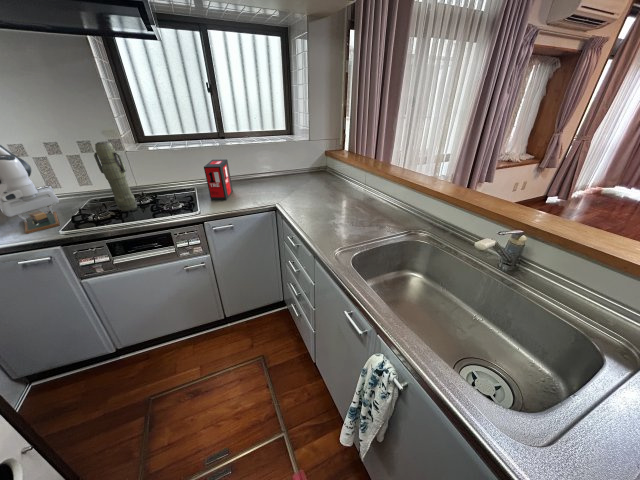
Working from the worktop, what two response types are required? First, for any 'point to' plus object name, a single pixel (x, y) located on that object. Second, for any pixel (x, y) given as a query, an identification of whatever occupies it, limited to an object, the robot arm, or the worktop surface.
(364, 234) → the worktop surface
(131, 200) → the thermos
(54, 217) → the board
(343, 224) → the worktop surface
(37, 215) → the eraser
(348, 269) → the worktop surface
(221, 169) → the cleaning product box
